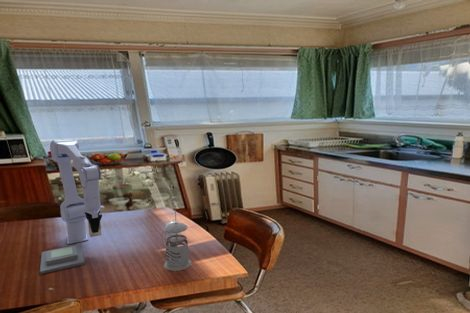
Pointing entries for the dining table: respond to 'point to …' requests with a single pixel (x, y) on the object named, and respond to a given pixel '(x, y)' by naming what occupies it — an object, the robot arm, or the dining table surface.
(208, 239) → the dining table surface
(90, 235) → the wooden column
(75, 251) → the stepped stand
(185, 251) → the french press
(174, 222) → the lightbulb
